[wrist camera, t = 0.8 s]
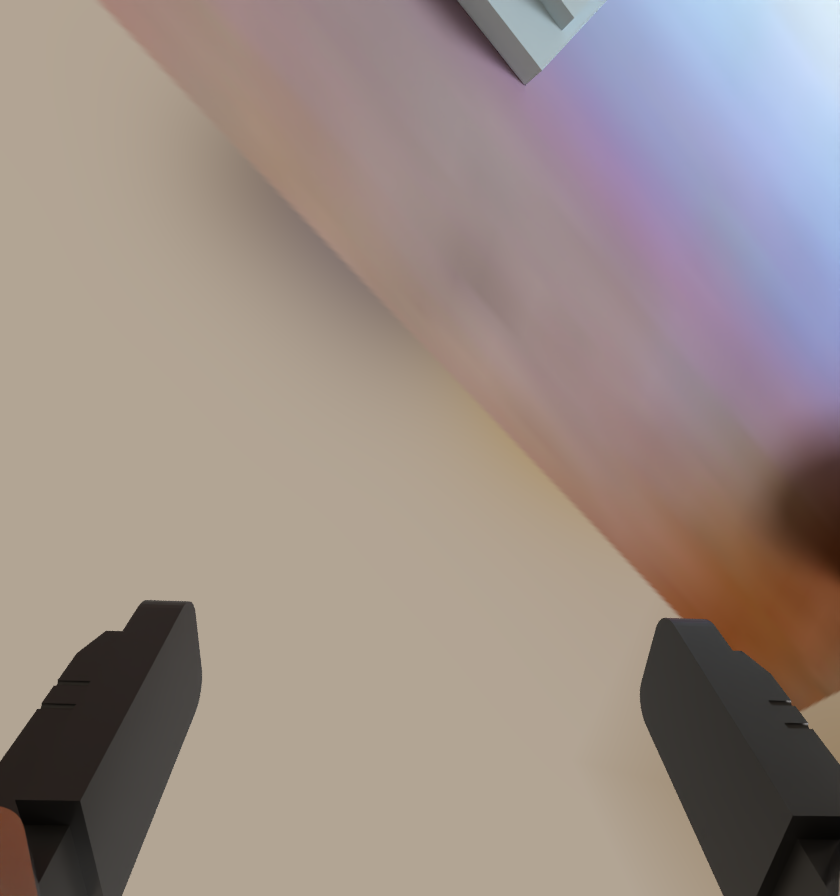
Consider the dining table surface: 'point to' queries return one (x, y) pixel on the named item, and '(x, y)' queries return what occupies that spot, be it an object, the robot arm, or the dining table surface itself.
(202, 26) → the dining table surface
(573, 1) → the block
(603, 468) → the dining table surface
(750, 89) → the dining table surface
